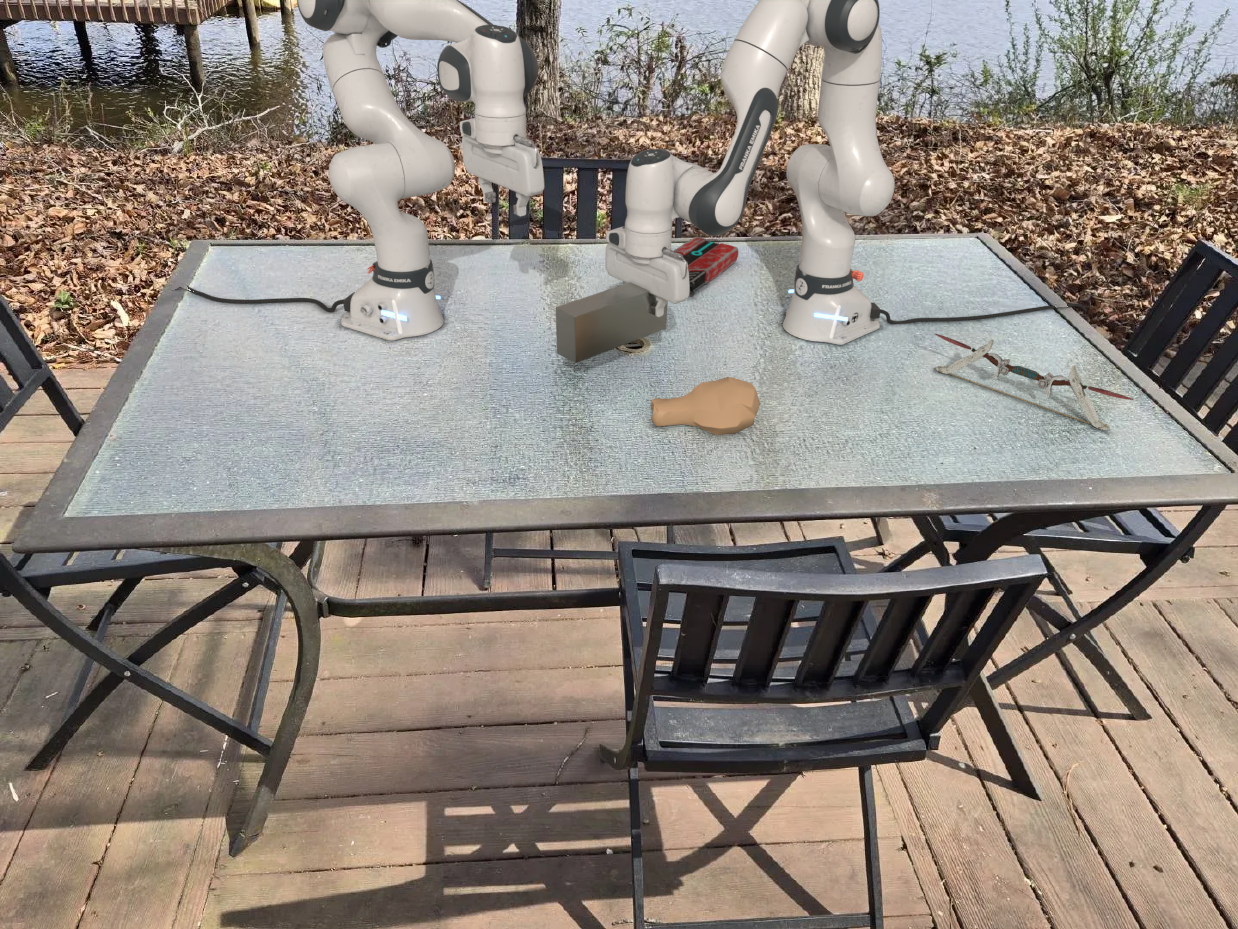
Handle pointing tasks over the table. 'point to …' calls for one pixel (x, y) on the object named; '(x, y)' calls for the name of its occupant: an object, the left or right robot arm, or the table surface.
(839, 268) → the right robot arm
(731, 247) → the gun
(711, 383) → the squash
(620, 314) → the bar
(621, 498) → the table surface
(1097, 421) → the bow
